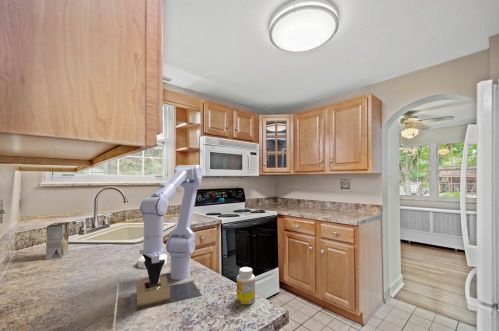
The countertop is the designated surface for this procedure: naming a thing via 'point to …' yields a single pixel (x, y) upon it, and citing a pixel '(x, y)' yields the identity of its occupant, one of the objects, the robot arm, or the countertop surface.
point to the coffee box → (57, 240)
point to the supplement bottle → (245, 286)
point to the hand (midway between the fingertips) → (152, 279)
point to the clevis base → (174, 295)
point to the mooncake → (142, 259)
